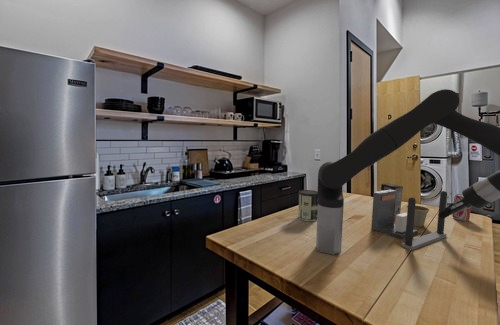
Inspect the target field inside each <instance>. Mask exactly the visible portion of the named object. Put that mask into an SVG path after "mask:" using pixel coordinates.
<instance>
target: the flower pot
mask: <svg viewBox="0 0 500 325" xmlns="http://www.w3.org/2000/svg"><path fill="white" fill-rule="evenodd" d="M406 208H407V210H408V205H406ZM429 211H430V208H428V207H426V206H422V205H417V204H415V216H414V227H419V228H420V227H421V228H422V227H424V226H425V223H426V219H427V215H428V213H429Z"/></svg>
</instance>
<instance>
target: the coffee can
mask: <svg viewBox="0 0 500 325" xmlns="http://www.w3.org/2000/svg"><path fill="white" fill-rule="evenodd" d="M317 213H318V190H313V189H302V190H299V191H298V219H299V220H301V221H303V222H304V221H305V222H317Z"/></svg>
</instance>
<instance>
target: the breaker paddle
mask: <svg viewBox="0 0 500 325" xmlns="http://www.w3.org/2000/svg"><path fill="white" fill-rule="evenodd" d="M394 223H395V231H398V232H401V233H402V232H405V231H406V223H407V212H403V213H400V214H398V215H395V218H394Z"/></svg>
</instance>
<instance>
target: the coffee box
mask: <svg viewBox="0 0 500 325" xmlns="http://www.w3.org/2000/svg"><path fill="white" fill-rule="evenodd" d="M380 186H381V188H380V191H384V190H396V203H395V216H396V215H398V214H401V210H402V209H401V208H402V198H403V186H402V185H398V184H393V183H381V185H380Z"/></svg>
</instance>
